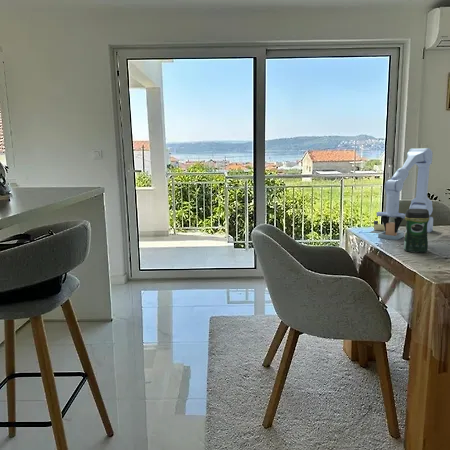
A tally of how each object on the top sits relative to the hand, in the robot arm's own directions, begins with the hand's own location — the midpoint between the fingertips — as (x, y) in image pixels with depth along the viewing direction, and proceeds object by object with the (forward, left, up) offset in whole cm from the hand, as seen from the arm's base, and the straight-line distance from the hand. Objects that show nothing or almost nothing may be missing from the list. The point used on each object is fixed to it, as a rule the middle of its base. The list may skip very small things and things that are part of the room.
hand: (391, 231), depth 195 cm
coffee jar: (-16, +16, -4) cm, 23 cm away
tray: (0, 0, -4) cm, 4 cm away
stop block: (0, 0, -2) cm, 2 cm away
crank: (+9, -13, -3) cm, 16 cm away
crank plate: (+6, -12, -4) cm, 14 cm away
